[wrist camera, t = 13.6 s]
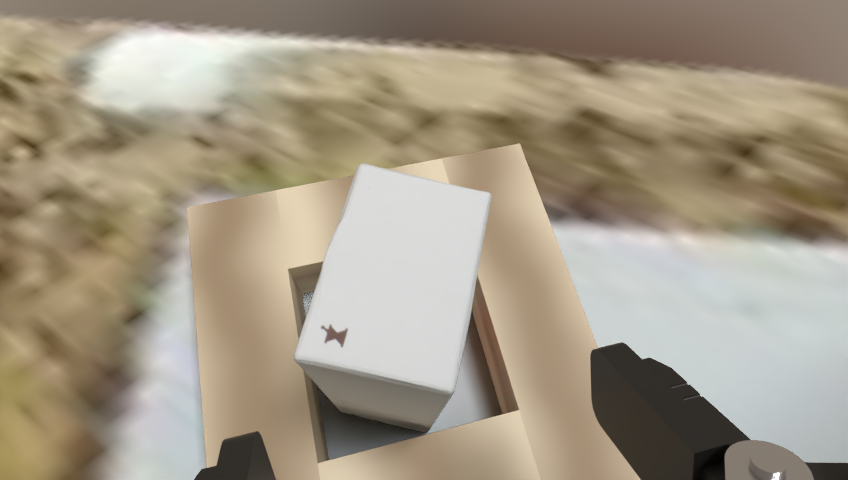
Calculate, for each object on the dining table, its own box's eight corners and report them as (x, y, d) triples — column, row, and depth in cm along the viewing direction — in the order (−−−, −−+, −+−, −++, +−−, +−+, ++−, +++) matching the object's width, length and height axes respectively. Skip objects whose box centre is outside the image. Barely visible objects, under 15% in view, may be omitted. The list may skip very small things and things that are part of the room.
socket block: (506, 179, 29) (519, 143, 26) (617, 488, 23) (652, 491, 19) (212, 238, 27) (187, 207, 24) (246, 597, 21) (218, 620, 17)
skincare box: (430, 435, 23) (455, 404, 12) (338, 412, 23) (283, 362, 13) (456, 308, 26) (497, 188, 15) (373, 289, 26) (352, 157, 15)
